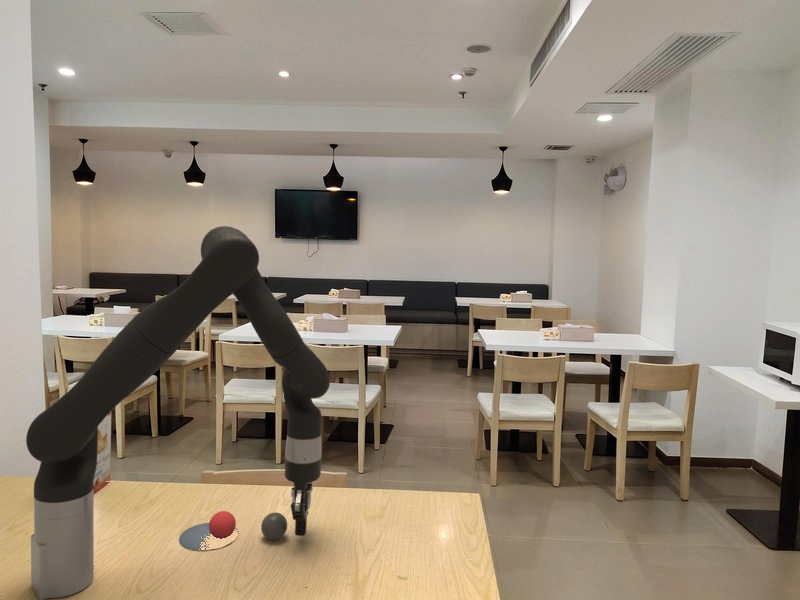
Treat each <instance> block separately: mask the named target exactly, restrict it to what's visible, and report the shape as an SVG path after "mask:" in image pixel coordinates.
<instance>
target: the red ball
mask: <svg viewBox="0 0 800 600" xmlns="http://www.w3.org/2000/svg"><path fill="white" fill-rule="evenodd" d="M208 523H209V530H210V533H211V534H212V535H213V536H214V537H216V538H220V539H222V538H226V537H228V536H230V535H231V534H232V533H233V531H234V529H235V528H236V526H237V523H236V518H235V515H233V513H231V512H230V511H227V510H221V511H220V510H219V511H217V512H216V513H215V514H213V515H212V517H210V520H209V522H208Z"/></svg>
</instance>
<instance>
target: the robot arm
mask: <svg viewBox="0 0 800 600" xmlns="http://www.w3.org/2000/svg"><path fill="white" fill-rule="evenodd" d="M200 245H201V246H200V257H201V261H200V262H199V264H198V265H197V267H196V268H195V269H194V270H193V271H192V272H190V275H188V276H187V278H186V279H185V280H184V281H183V282H182V283H181V284H180V285H179V286H177V288H175V289H173V290H172V291H171V292H169V293H168V294H166V295H164V296H162V297H160V298H158V299H157V300H155V301H154V302H152V303H151V304H149V305H148V306H146V307H145V308H143V309H142V310H140V311H139V312H138V313H137V314H136V315H135V316H134V317H133V318H132V319H131V320H130V321H129V322H127V324H126V325H125V326H124V327H123V328H122V329H121V330H120V331H119V332H118V333H117V335H116V336H115V337H114V338H113V339H112V341H110V343H109V344H108V345H107V346H106V347H105V348H104V349H103V351H102V352H101V353H100V354H99V355H98V357H96V359H95V360H94V361H93V362H92V364H91V365H90V367H89V368H88V370H86V372H85V373H84V374H83V376H82V377H81V378H80V379H79V380H78V381H77V382H76V384H74V385H73V387H71V388H70V389H69V390H68V391H67V392H65V394H63V395H62V396H61V397H60V398H59V399H57V401H55V402H54V403H53V404H52V405H50V406H49V407H47V408H46V409H44V410H43V411H42V412H41V413H39V415H37V416H36V417H35V418H34V419H33V420H32V422H30V424H29V427H28V429H27V433H26V438H25V439H26V440H25V441H26V443H25V444H26V448H27V451H28V452H29V454H30V455H31V457H33V459H35V460H36V461H39V462H40V465H39V467H38V472H37V475H36V477H35V479H34V483H33V516H34V518H33V520H34V521H33V522H34V524H33V525H34V527H33V528H34V530H33V531H34V534H31V536H30V576H31V577H30V583H31V584H30V585H31V587H32V589H33V591H34V592H35V595H36V596H37V598H38V599H39V600H47V599H57V598H64V597H68V596H71V595H74V594H77V593H79V592H81V591H83V590H84V589H86V588H87V587H88V586H90V585H91V583H92V582H93V580H94V570H95V568H94V567H95V566H94V556H95V555H94V550H95V549H94V547H95V546H94V541H95V540H94V539H95V538H94V536H95V535H94V534H95V533H94V525H95V524H94V522H95V521H94V517H95V515H94V510H95V509H94V506H95V504H94V503H95V502H94V501H95V500H94V495H95V493H94V476H95V472H96V467H97V449H98V426H99V424H100V423H101V422H102V421H103V419H104V418H105V417H106V416H107V415H108V414H109V413H110V411H111V412H112V411H113V409H114V408H116V407H117V406H118V405H119V404H120V403H121V402H123V401H124V400H125V399H126V398H128V397H129V396H130V395H131V394H132V393H133V392H135V391H136V390H137V389H138V388H139V387H141V386H142V385H143V384H144V383H145V382H147V380H149V379H150V378H151V377H152V376H153V375H154V374H155V373H156V372H157V371H158V370H160V368H161V367H162V366H163V365H164V364H165V363H166V362H167V361H169V359H170V358H171V357H172V356H173V355H174V354H175V353H176V352H177V351H178V349H179V348H181V346H182V345H183V343H184V342H186V341H187V340H188V339H189V337H190V336H191V335H193V333H194V332H195V331H197V329H198V328H199V327H200V325H201V324H202V323H203V322H204V321H205V319H207V318H208V317H209V315H210V314H211V313H212V312H214V310H216V308H218V307H219V306H220V305H221V304H222V303H224V302H225V300H227V299H228V298H229V297H231V295H233V296H234V297H235V298H236V300H237V302H238V303H239V305H240V306H241V308H242V310H243V311H244V313H245V315H246V316H247V318H248V320H249V322H250V323H251V326H252V328H253V330H254V332H255V333H256V334H257V336H258V338H259V340H260V342H261V343H262V345H263V346H264V347H265V349H266V351H267V352H268V354H269V355H270V357H271V358H272V360H273V361H274V362H275V363H276V364H277V365H278V366H280V367H282V368H284V369H283V373H282V377H281V387H282V388H281V389H282V393H283V394H282V395H283V401H284V404H285V405H284V406H285V409H286V413H287V424H286V425H287V430H286V431H287V433H286V434H287V435H286V443H285V450H284V452H285V453H284V454H285V456H284V478H285V479H286V480H288V481H289V482H292V483H293V487H291V490H290V491H291V493H290V494H291V495H290V496H291V497H292V499H291V500H292V502H291V504H290V509H291V510H290V511H291V515H292V520H293V521H294V522H295V523H294V525H295V528H294V535H295V536H299V537H304V536H305V535H306V533H307V528H308V527H307V524H308V522H307V521H308V515H309V509H310V506H311V502H312V491H313V489H314V488H313V487H314V484H313V483H314V482H316V481H318V480H319V479H320V477H321V474H322V471H321V470H322V449H323V448H322V445H323V444H322V435H321V434H322V411H321V409H320V408H319V407H317V406H316V405H315V404H314V402H313V399H319V398H322V397H323V396H324V395H325V394H327V392H328V390H329V387H330V383H331V379H330V373H329V371H328V369H327V367H326V366H325V364H324V362H322V361H321V359H320V358H319V357H318V356H317V354H315V352H313V350H312V349H311V348H309V346H308V345H307V344H306V343H305V342H304V340H303V338H302V336H301V335H300V333H299V331H298V329H297V328H296V326H295V324H294V323H293V322H292V320H291V318H290V317H289V315H288V314H287V313H286V311H285V309H284V308H283V307H282V305H281V304H280V302H279V301H278V300H277V298H276V297H275V295H274V294H273V293H272V291H271V290H270V288H269V287H268V285H267V283H266V281H265V280H264V278H263V276H262V275H261V273H260V271H259V269H258V267H259V263H260V255H259V250H258V249H257V246H256V244H255V243H254V242H253V241H252V240H251V239H250V238H249V237H248V236H247V235H246V234H245V233H244V232H243V231H241V230H239V229H238V228H235V227H233V226H228V225H221V226H217V227H214V228H213V229H210V230H209V231H208V232H207V233H206V234H205V235H204V237H203V239H202V242H201V244H200Z"/></svg>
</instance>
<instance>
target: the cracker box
mask: <svg viewBox="0 0 800 600" xmlns="http://www.w3.org/2000/svg"><path fill="white" fill-rule="evenodd" d="M111 435H112V410H111V411H110V413H109V414H108V415H107V416H106V417H105V418H104V419H103V421H102V422H101V423H100V424H99V426H98V449H97V467H96V472H95V476H94V494H96V493H98V492H99V491H100V490H101V489H102V488H104V487H105V486H106V485H108V484H109V483H110V482H111V449H112V448H111V447H112V446H111V444H112V442H111V441H112V440H111V439H112V437H111ZM106 481H110V482H106Z"/></svg>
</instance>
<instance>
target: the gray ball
mask: <svg viewBox="0 0 800 600" xmlns="http://www.w3.org/2000/svg"><path fill="white" fill-rule="evenodd" d="M262 519H263V520H262V521H261V525H260V526H261V527H260V529H261V534H262V535H263V536H264V537H265V538H266V539H267V540H270V541H276V539H277V540H279V539H281V538H282V537H284V536H285V534H286V532H287V529H288V521H287V518H286V517H285V516H284V515H283V514H282V513H280V512H275V511H274V512H270V513H269V514H266V516H265V517H264V518H262Z"/></svg>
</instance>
